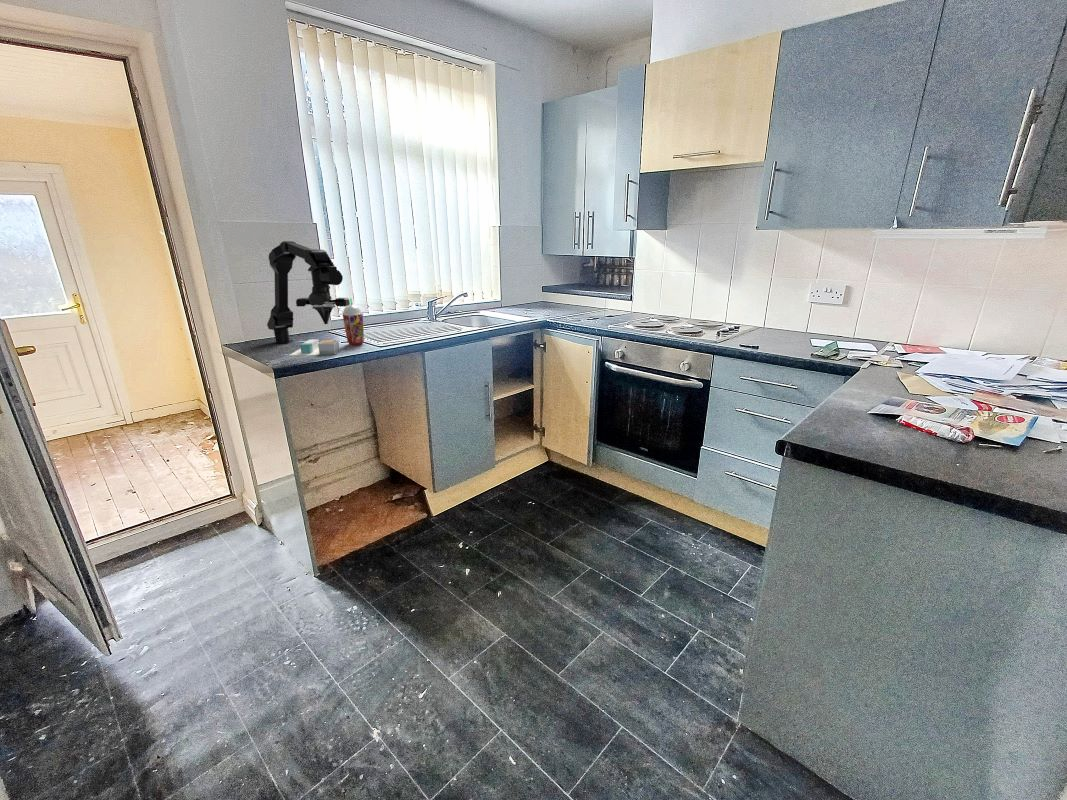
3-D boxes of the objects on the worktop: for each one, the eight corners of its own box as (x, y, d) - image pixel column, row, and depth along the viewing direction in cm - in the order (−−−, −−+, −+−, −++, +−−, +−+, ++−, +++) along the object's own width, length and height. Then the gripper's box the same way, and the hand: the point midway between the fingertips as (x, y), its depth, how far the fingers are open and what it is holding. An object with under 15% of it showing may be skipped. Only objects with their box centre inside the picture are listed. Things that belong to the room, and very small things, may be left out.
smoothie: (364, 346, 201) (359, 299, 194) (344, 346, 199) (338, 299, 193) (367, 342, 208) (362, 297, 202) (348, 342, 207) (342, 297, 201)
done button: (325, 347, 189) (324, 340, 189) (335, 347, 190) (335, 340, 189) (322, 349, 186) (321, 342, 185) (332, 349, 186) (331, 342, 185)
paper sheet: (304, 346, 199) (304, 346, 198) (330, 346, 199) (330, 346, 199) (288, 355, 183) (288, 355, 183) (317, 355, 184) (317, 355, 184)
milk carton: (310, 347, 196) (309, 339, 195) (319, 347, 196) (318, 339, 195) (301, 353, 186) (300, 344, 185) (310, 353, 187) (309, 344, 186)
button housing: (324, 351, 191) (323, 340, 189) (339, 351, 191) (338, 340, 190) (319, 354, 185) (318, 343, 184) (335, 354, 186) (333, 343, 184)
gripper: (286, 285, 171) (293, 327, 176) (339, 285, 173) (344, 327, 178) (299, 283, 182) (304, 322, 187) (347, 283, 183) (352, 322, 188)
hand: (326, 324), depth 184 cm, fingers closed
